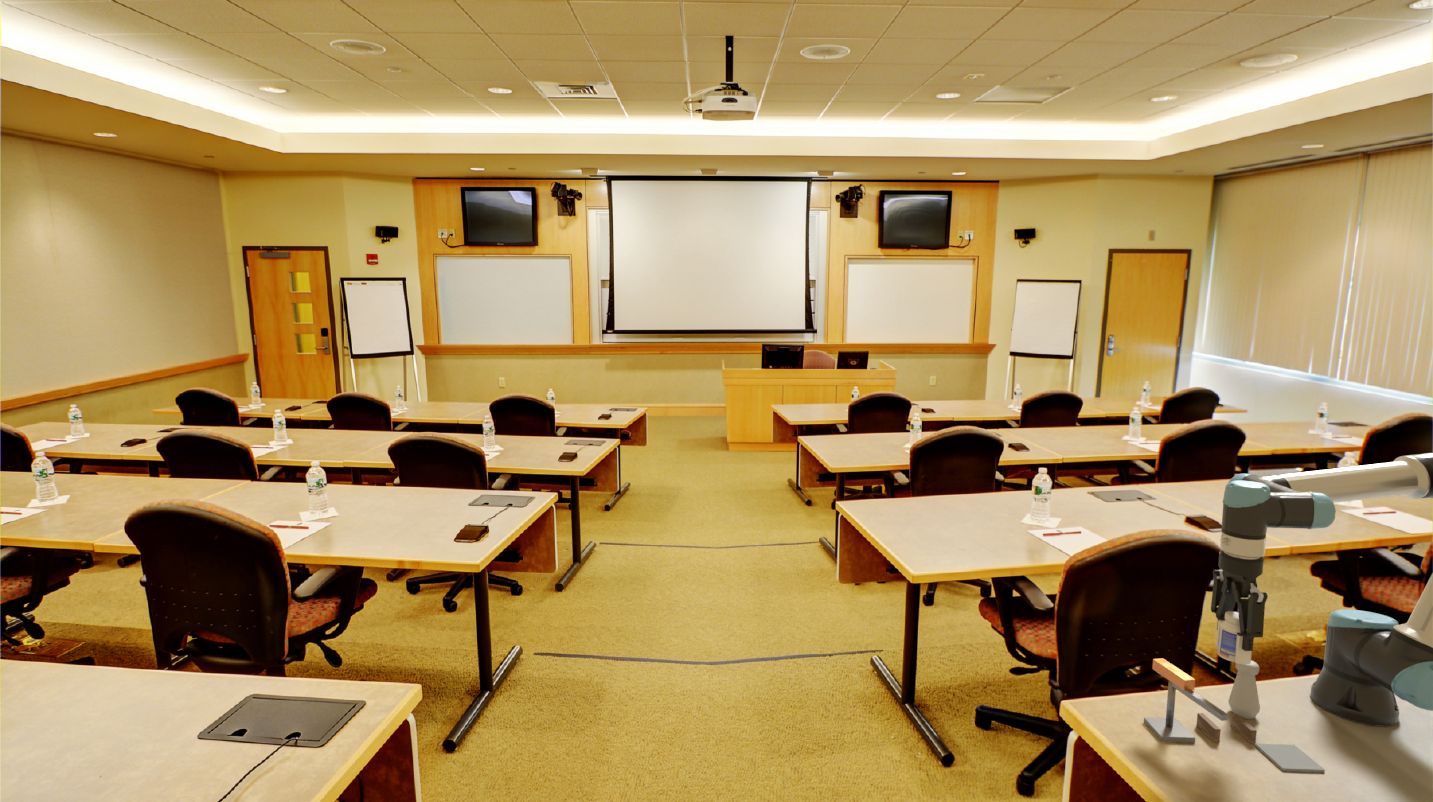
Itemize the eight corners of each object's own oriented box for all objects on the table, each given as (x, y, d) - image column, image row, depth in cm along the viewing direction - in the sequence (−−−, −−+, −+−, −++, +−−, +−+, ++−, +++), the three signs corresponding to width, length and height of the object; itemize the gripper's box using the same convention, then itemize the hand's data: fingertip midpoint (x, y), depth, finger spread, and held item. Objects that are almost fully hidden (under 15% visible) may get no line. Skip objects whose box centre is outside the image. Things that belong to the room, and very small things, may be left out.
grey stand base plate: (1175, 723, 154) (1176, 718, 154) (1194, 742, 147) (1195, 737, 147) (1143, 722, 154) (1144, 717, 154) (1161, 741, 148) (1161, 736, 147)
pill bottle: (1252, 664, 144) (1258, 622, 143) (1224, 662, 145) (1229, 619, 144) (1238, 652, 150) (1244, 610, 148) (1211, 649, 151) (1216, 608, 149)
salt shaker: (1257, 711, 158) (1262, 659, 156) (1260, 724, 153) (1266, 670, 151) (1226, 703, 161) (1230, 652, 159) (1228, 716, 156) (1233, 663, 154)
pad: (1294, 747, 145) (1294, 744, 145) (1324, 772, 137) (1324, 769, 137) (1254, 745, 146) (1255, 743, 145) (1282, 770, 138) (1283, 768, 138)
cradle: (1236, 726, 152) (1237, 713, 152) (1255, 743, 146) (1256, 730, 146) (1196, 724, 153) (1197, 712, 153) (1213, 741, 147) (1214, 728, 147)
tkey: (1226, 765, 137) (1231, 703, 136) (1215, 766, 137) (1220, 704, 135) (1158, 713, 155) (1162, 658, 153) (1149, 714, 155) (1153, 658, 153)
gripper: (1196, 538, 154) (1188, 635, 157) (1253, 569, 135) (1244, 677, 138) (1230, 539, 153) (1223, 635, 156) (1293, 569, 135) (1282, 678, 138)
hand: (1232, 655), depth 147 cm, fingers closed on pill bottle, 5 cm apart
